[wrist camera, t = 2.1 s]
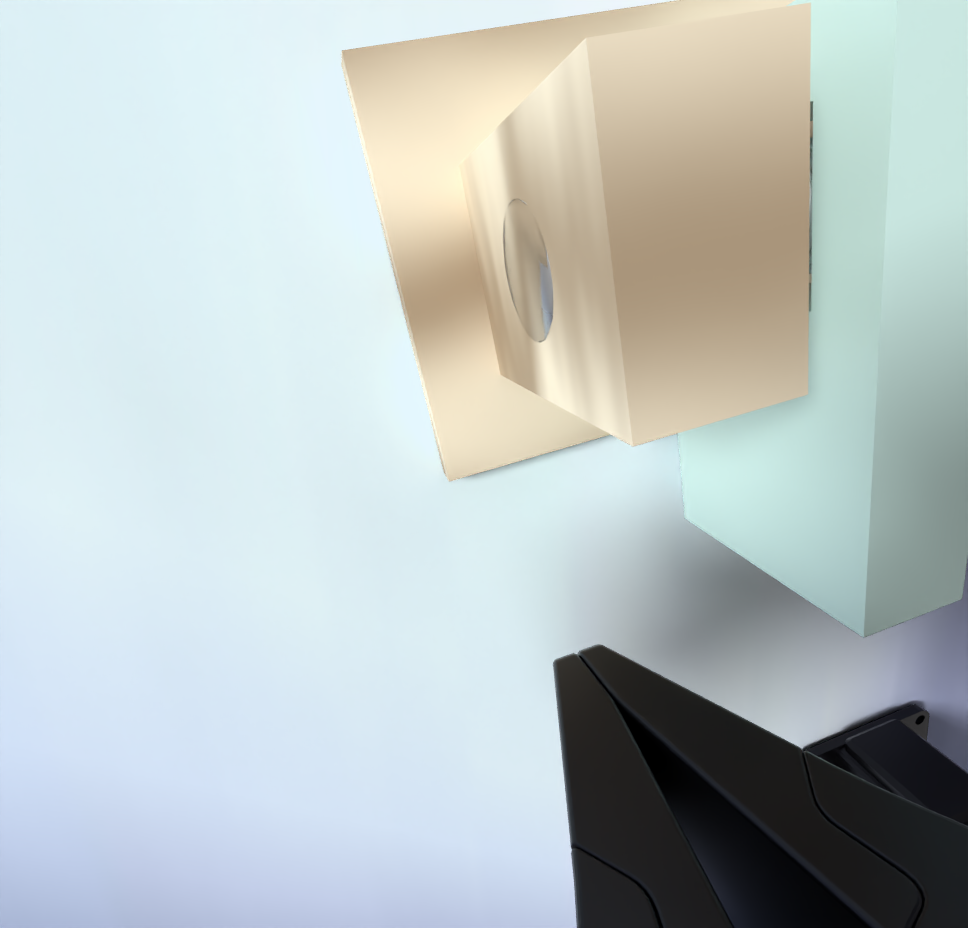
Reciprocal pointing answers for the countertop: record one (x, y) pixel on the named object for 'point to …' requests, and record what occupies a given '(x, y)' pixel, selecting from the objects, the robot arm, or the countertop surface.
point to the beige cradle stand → (596, 220)
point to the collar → (866, 338)
